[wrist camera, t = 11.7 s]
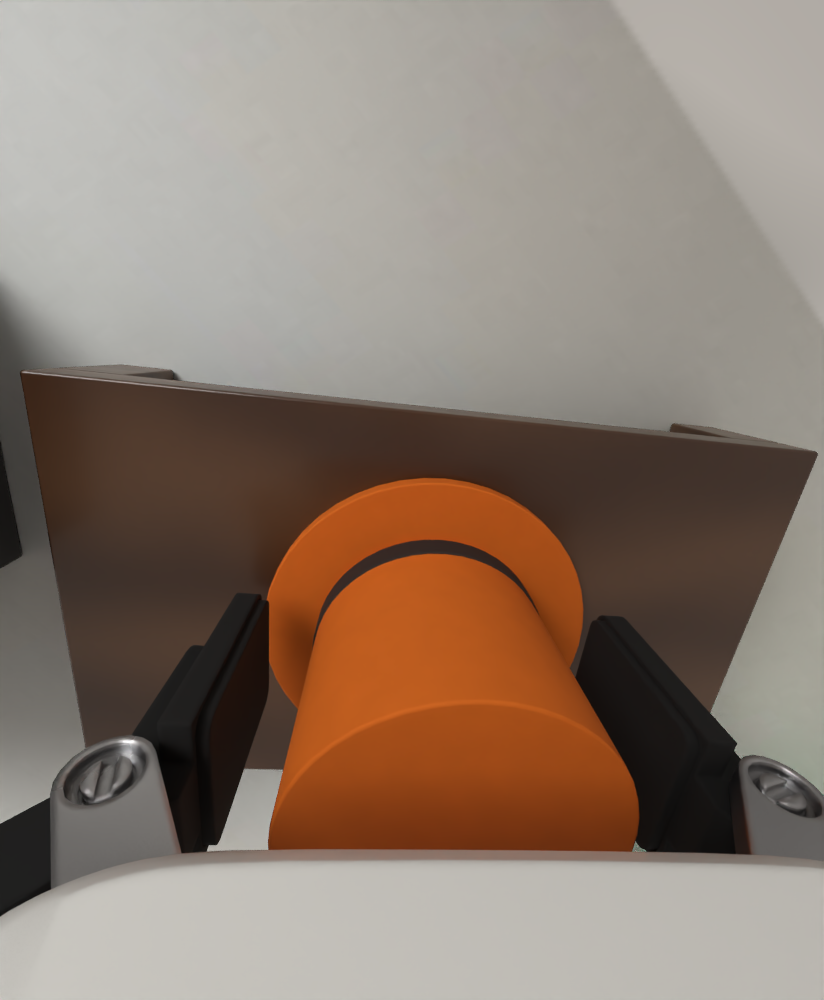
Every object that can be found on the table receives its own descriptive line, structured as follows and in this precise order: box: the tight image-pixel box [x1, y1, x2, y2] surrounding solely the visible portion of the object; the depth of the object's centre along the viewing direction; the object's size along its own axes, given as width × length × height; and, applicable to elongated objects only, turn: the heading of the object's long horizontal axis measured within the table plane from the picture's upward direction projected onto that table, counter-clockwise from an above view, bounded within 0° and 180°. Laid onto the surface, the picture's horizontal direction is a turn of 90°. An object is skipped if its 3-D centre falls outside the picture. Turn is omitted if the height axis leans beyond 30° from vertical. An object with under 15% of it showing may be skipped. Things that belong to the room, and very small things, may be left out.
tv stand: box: [20, 365, 818, 770], centre depth 14 cm, size 12×20×4 cm, turn 84°
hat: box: [267, 478, 639, 852], centre depth 10 cm, size 9×9×6 cm
